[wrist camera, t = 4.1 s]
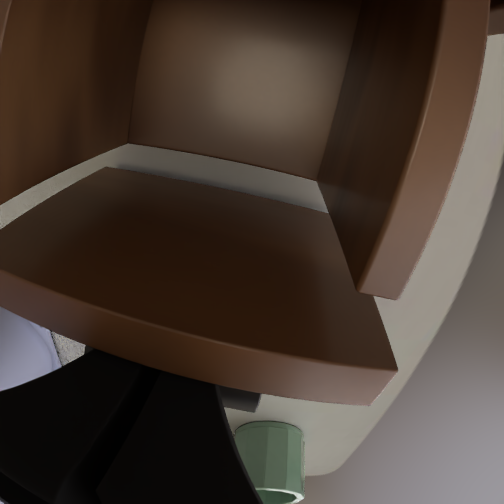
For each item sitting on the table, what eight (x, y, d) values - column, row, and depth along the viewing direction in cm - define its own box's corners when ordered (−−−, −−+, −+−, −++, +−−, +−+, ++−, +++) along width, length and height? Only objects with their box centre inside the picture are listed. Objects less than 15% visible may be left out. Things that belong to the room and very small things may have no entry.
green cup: (291, 452, 22) (289, 507, 18) (230, 444, 22) (221, 500, 17) (313, 425, 20) (314, 491, 15) (241, 415, 20) (231, 483, 15)
